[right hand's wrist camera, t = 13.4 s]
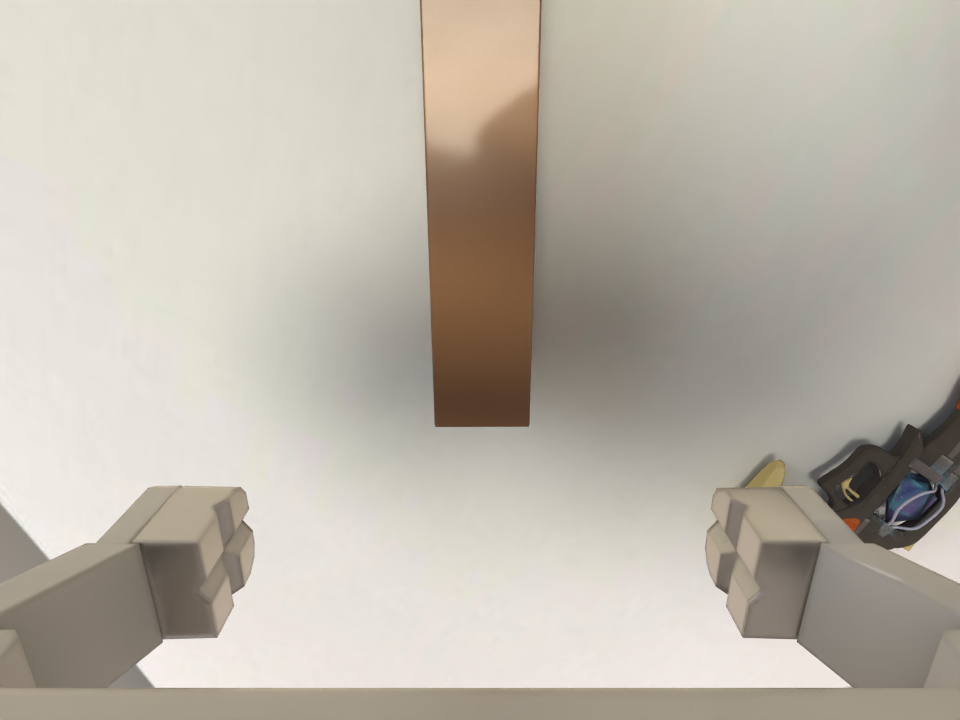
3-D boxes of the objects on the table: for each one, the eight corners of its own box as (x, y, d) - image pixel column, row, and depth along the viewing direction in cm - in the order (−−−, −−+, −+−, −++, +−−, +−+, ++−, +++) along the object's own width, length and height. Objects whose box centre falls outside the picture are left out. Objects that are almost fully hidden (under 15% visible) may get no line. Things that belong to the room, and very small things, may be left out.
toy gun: (725, 538, 34) (861, 628, 35) (971, 259, 30) (1120, 368, 30) (710, 515, 37) (837, 598, 37) (934, 255, 32) (1073, 356, 33)
